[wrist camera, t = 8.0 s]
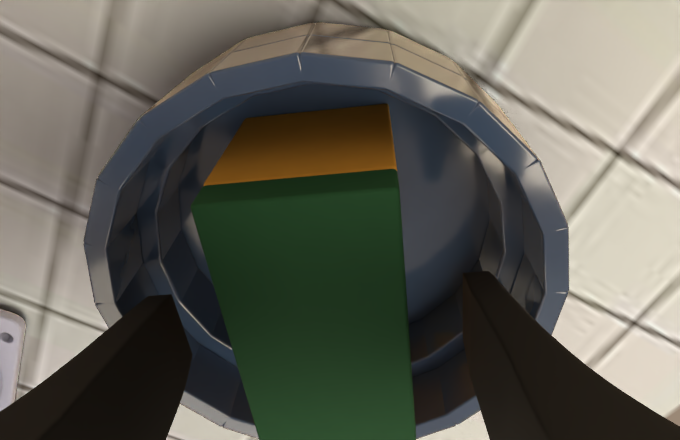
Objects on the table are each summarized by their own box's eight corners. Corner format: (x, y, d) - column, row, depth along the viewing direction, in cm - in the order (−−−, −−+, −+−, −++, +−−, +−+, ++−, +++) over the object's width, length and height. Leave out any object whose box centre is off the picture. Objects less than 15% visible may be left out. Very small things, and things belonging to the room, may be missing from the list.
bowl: (412, 386, 21) (423, 491, 17) (118, 284, 19) (55, 376, 15) (601, 125, 15) (682, 193, 11) (208, -60, 13) (142, -54, 9)
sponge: (403, 308, 18) (416, 443, 13) (287, 315, 19) (260, 449, 14) (388, 102, 15) (399, 187, 10) (244, 117, 15) (187, 205, 10)
